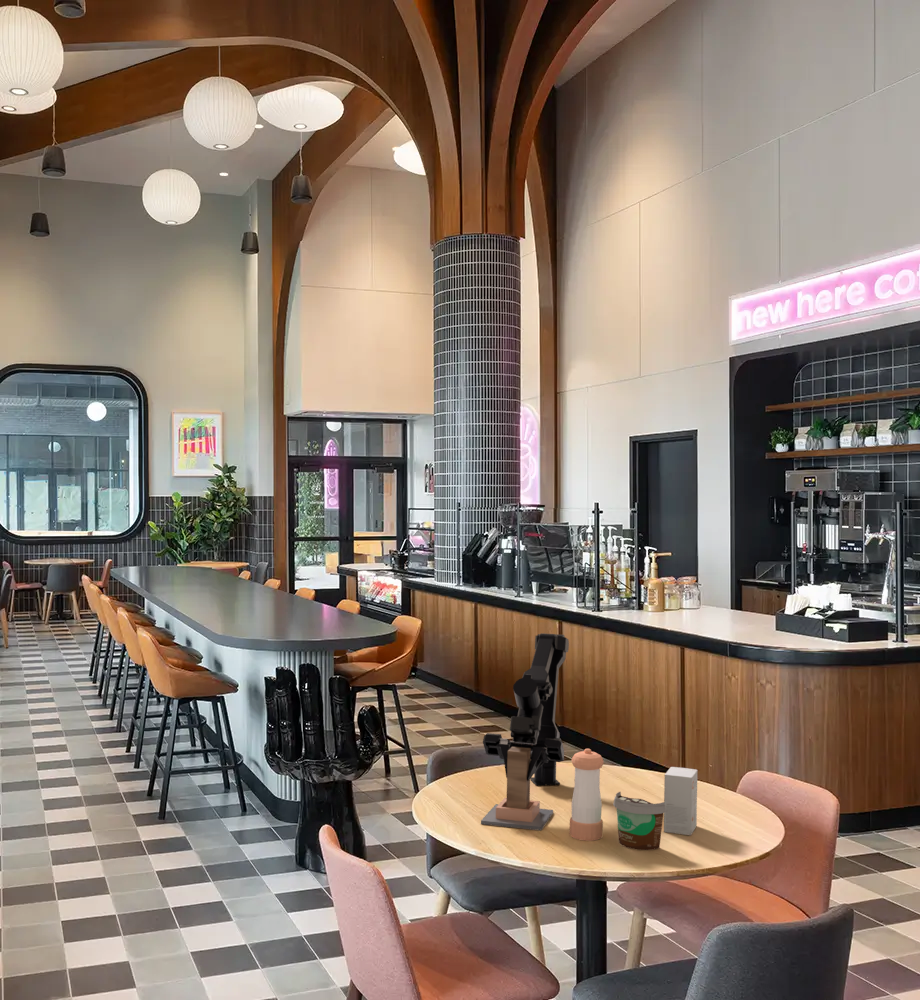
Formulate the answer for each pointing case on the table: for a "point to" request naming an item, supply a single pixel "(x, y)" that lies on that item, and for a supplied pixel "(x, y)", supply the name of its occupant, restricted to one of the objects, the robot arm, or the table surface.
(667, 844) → the table surface
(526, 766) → the walnut block
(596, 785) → the salt shaker
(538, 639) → the robot arm
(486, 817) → the jaw socket
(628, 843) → the food container
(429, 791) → the table surface
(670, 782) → the small box
